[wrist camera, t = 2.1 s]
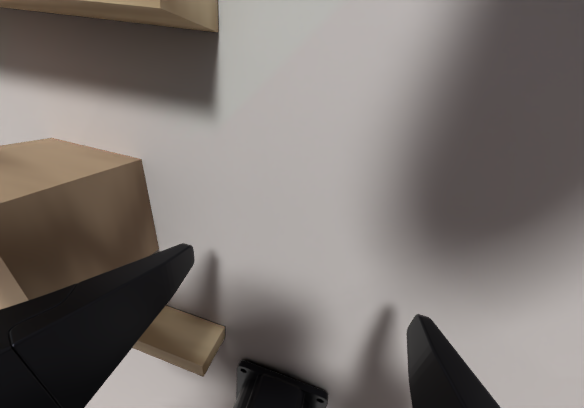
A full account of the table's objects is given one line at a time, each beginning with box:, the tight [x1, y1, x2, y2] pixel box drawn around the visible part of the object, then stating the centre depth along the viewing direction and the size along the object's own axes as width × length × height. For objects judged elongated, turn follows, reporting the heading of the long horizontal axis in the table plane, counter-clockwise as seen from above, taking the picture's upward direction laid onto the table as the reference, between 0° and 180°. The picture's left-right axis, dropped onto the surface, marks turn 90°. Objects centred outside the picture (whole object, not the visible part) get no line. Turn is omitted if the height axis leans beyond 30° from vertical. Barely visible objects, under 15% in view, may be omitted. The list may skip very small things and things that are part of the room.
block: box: [0, 138, 159, 310], centre depth 10 cm, size 6×6×6 cm
